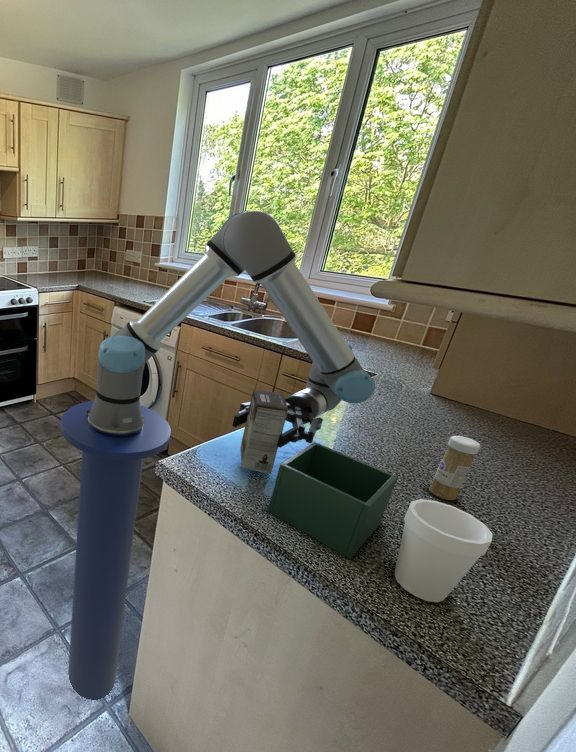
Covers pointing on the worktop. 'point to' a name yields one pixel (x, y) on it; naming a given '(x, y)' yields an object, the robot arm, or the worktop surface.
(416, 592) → the foam cup
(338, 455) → the waste bin
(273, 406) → the coffee box
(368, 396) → the robot arm
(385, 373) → the worktop surface
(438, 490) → the sprinkles bottle
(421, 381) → the worktop surface
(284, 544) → the worktop surface
